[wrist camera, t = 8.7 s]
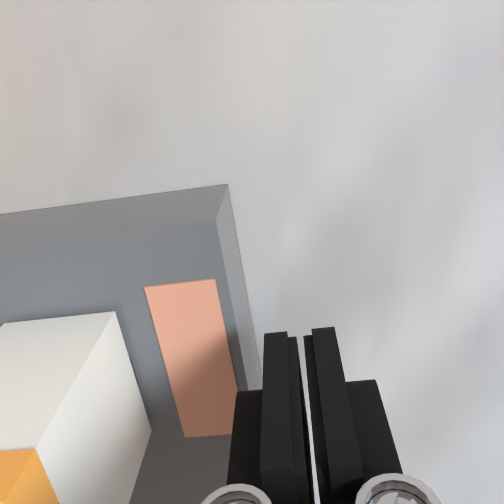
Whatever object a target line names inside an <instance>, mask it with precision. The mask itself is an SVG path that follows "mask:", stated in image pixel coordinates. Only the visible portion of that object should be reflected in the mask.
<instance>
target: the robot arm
mask: <svg viewBox="0 0 504 504" xmlns="http://www.w3.org/2000/svg"><path fill="white" fill-rule="evenodd" d="M303 337H304V347H305V358H306V368H307V379H308V390H309V400H310V411H311V422H312V432H313V443H314V453H315V463H316V472H317V480H318V488H319V496H320V504H441V502H440V500H439V499H438V497H437V496H436V495H435V493H434V492H433V491H432V489H430V488H429V487H428V486H427V485H425V484H424V483H423V482H422V481H420V480H418V479H415V478H413V477H411V476H409V475H403V472H402V469H401V465H400V462H399V458H398V455H397V451H396V448H395V444H394V441H393V438H392V434H391V431H390V427H389V424H388V420H387V417H386V413H385V410H384V407H383V403H382V400H381V396H380V393H379V389H378V386H377V383H376V381H375V379H374V380H363V381H351V382H345V377H344V372H343V367H342V362H341V357H340V352H339V348H338V343H337V338H336V333H335V328H334V327H326V328H316V329H312V335H307V336H303ZM201 504H315V500H314V488H313V477H312V465H311V453H310V441H309V431H308V422H307V414H306V406H305V399H304V391H303V383H302V376H301V368H300V360H299V353H298V345H297V338H296V337H288V335H287V331H286V332H276V333H266V334H264V357H263V386H262V389H260V390H249V391H238V392H237V394H236V399H235V409H234V418H233V428H232V437H231V446H230V456H229V465H228V474H227V484H226V486H224V487H222V488H219V489H217V490H216V491H214V492H213V493H211V494H210V495H208V497H207V498H206V499H205V500H204V501H203V502H202V503H201Z"/></svg>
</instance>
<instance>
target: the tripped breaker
mask: <svg viewBox="0 0 504 504" xmlns="http://www.w3.org/2000/svg"><path fill="white" fill-rule="evenodd" d="M151 431H152V430H151V427H150V424H149V420H148V417H147V414H146V411H145V407H144V404H143V401H142V398H141V394H140V391H139V388H138V385H137V381H136V378H135V375H134V372H133V368H132V365H131V362H130V359H129V355H128V352H127V349H126V346H125V342H124V339H123V336H122V333H121V329H120V326H119V323H118V320H117V316H116V313H115V311H112V312H103V313H94V314H85V315H75V316H66V317H57V318H48V319H39V320H30V321H20V322H11V323H4V324H3V325H2V326H1V327H0V504H129V501H130V498H131V495H132V492H133V489H134V485H135V482H136V479H137V476H138V473H139V469H140V466H141V463H142V460H143V457H144V454H145V450H146V447H147V444H148V441H149V438H150V434H151Z"/></svg>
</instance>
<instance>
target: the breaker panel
mask: <svg viewBox="0 0 504 504" xmlns="http://www.w3.org/2000/svg"><path fill="white" fill-rule="evenodd" d="M112 311H115V313H116V316H117V320H118V323H119V326H120V329H121V333H122V336H123V339H124V342H125V346H126V349H127V352H128V355H129V359H130V362H131V365H132V368H133V372H134V375H135V378H136V381H137V385H138V388H139V391H140V394H141V398H142V401H143V404H144V407H145V411H146V414H147V417H148V420H149V424H150V427H151V430H152V431H151V434H150V438H149V441H148V444H147V447H146V450H145V454H144V457H143V460H142V463H141V466H140V469H139V473H138V476H137V479H136V482H135V485H134V489H133V492H132V495H131V498H130V501H129V504H201V503H202V502H203V501H204V500H205V499H206V498H207V497H208V495H210V494H211V493H213V492H214V491H216V490H217V489H219V488H222V487H224V486H226V484H227V474H228V465H229V456H230V446H231V437H232V428H233V418H234V409H235V399H236V394H237V392H238V391H249V390H260V389H262V386H263V381H262V375H261V370H260V364H259V358H258V353H257V347H256V341H255V336H254V330H253V324H252V319H251V313H250V307H249V302H248V296H247V290H246V285H245V279H244V273H243V268H242V262H241V256H240V251H239V245H238V240H237V234H236V228H235V223H234V217H233V211H232V206H231V200H230V194H229V189H228V184H224V185H216V186H209V187H201V188H194V189H186V190H179V191H171V192H164V193H157V194H149V195H142V196H134V197H127V198H119V199H112V200H104V201H97V202H89V203H82V204H75V205H67V206H60V207H52V208H45V209H37V210H30V211H22V212H15V213H7V214H0V327H1V326H2V325H3V324H4V323H11V322H20V321H30V320H39V319H48V318H57V317H66V316H75V315H85V314H94V313H103V312H112Z"/></svg>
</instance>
